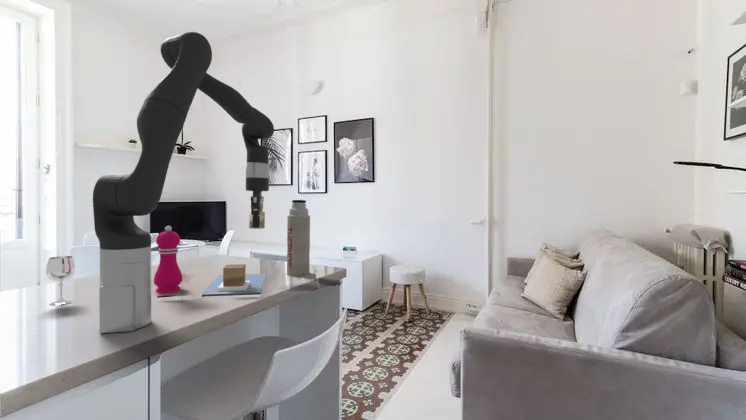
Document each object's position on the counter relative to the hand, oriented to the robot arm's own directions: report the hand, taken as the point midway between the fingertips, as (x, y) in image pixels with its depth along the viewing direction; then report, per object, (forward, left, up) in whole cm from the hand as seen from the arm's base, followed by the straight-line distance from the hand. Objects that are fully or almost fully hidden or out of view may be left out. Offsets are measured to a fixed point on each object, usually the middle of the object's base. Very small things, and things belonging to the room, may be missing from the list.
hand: (256, 226), depth 121 cm
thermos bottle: (+4, -14, -19) cm, 24 cm away
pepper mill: (-14, +23, -19) cm, 33 cm away
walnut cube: (-13, +5, -16) cm, 21 cm away
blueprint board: (-6, +5, -19) cm, 20 cm away
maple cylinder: (0, 0, 0) cm, 0 cm away
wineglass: (-19, +47, -19) cm, 54 cm away
